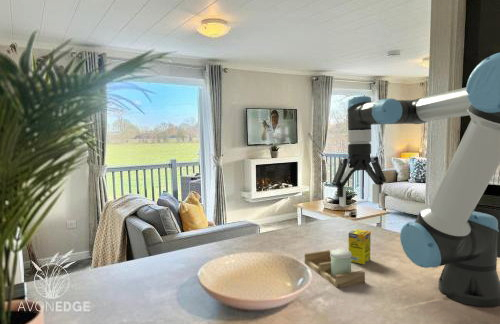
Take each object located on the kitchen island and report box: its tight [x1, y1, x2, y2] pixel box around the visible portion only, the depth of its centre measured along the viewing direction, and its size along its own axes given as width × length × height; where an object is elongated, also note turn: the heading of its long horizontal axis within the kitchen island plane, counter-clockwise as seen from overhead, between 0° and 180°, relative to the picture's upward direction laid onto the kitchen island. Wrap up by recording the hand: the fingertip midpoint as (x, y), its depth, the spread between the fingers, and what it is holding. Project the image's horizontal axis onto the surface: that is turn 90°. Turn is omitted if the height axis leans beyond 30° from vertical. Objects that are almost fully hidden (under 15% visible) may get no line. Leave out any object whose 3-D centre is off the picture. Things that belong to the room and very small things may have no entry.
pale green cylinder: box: [330, 248, 352, 279], centre depth 103 cm, size 6×6×8 cm
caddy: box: [304, 249, 366, 289], centre depth 108 cm, size 20×10×4 cm, turn 18°
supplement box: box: [348, 228, 371, 266], centre depth 117 cm, size 6×6×11 cm
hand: (359, 204), depth 115 cm, fingers open, 13 cm apart
